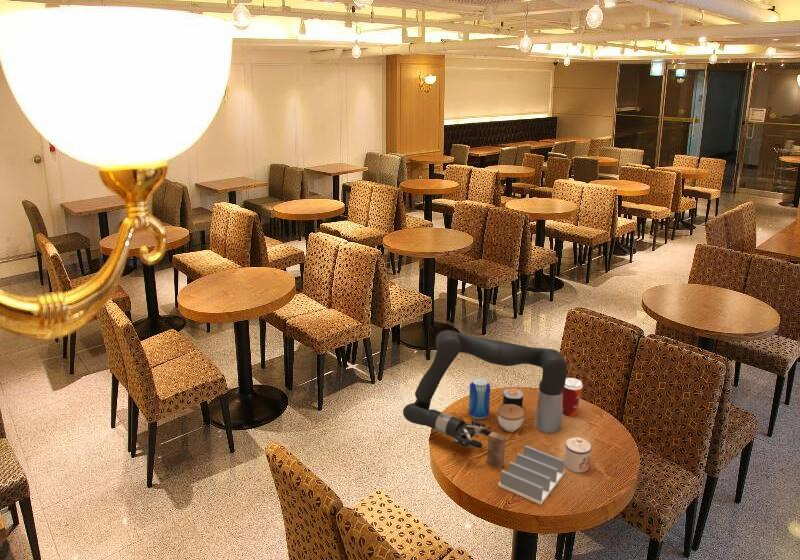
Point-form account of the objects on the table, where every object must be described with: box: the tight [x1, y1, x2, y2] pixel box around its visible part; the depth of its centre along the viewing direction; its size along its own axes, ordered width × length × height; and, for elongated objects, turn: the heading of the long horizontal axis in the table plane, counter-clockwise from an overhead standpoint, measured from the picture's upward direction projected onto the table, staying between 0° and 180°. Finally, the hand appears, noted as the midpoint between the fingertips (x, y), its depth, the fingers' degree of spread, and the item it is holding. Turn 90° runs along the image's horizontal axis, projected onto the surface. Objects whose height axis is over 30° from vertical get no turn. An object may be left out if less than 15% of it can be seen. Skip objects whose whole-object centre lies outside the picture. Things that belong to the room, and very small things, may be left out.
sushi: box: [502, 388, 524, 409], centre depth 252 cm, size 8×8×8 cm
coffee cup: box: [561, 377, 583, 418], centre depth 246 cm, size 8×8×15 cm
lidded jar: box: [496, 404, 525, 433], centre depth 238 cm, size 11×11×9 cm
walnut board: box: [486, 431, 507, 469], centre depth 215 cm, size 6×3×12 cm, turn 53°
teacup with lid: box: [563, 436, 592, 474], centre depth 215 cm, size 12×9×12 cm
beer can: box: [468, 377, 491, 420], centre depth 245 cm, size 8×8×16 cm
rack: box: [498, 445, 566, 506], centre depth 207 cm, size 16×20×6 cm
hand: (487, 440), depth 216 cm, fingers open, 8 cm apart
